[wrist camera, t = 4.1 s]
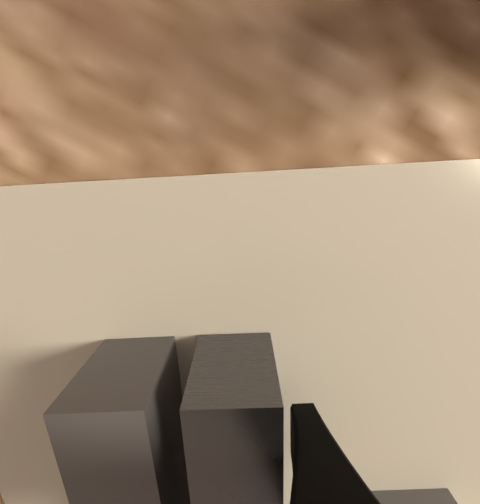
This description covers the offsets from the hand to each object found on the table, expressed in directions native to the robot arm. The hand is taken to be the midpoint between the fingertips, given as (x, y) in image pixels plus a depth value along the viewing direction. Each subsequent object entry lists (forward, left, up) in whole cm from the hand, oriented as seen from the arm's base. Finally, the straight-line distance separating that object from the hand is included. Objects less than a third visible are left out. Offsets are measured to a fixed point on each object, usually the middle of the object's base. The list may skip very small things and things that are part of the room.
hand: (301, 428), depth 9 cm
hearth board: (-4, +2, -2) cm, 5 cm away
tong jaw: (-5, +2, -1) cm, 5 cm away
